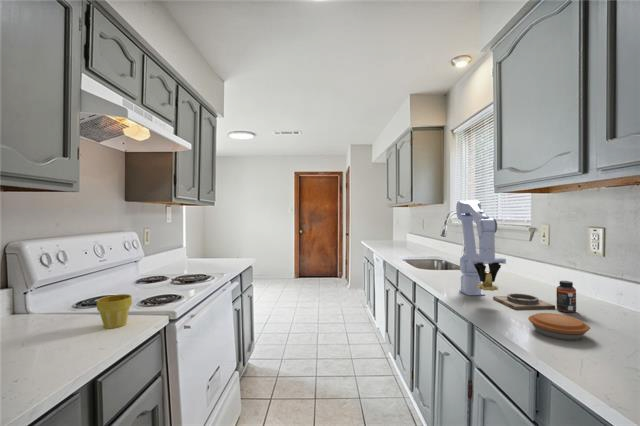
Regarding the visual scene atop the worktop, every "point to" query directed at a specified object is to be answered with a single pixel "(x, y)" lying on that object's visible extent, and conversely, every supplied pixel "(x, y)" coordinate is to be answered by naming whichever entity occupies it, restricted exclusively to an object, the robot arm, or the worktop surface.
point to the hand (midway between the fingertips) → (487, 281)
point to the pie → (558, 326)
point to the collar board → (522, 306)
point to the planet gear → (487, 282)
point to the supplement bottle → (566, 297)
